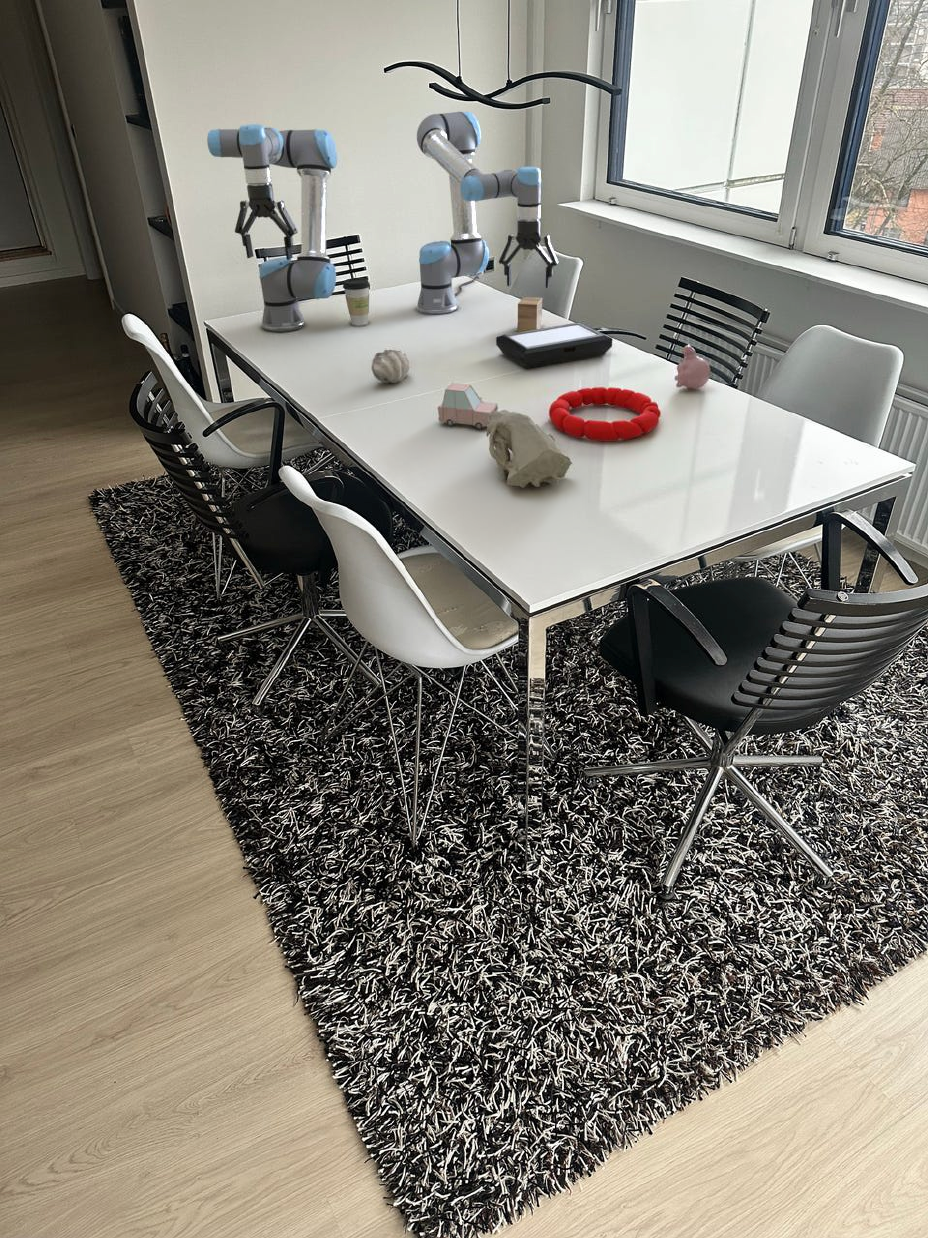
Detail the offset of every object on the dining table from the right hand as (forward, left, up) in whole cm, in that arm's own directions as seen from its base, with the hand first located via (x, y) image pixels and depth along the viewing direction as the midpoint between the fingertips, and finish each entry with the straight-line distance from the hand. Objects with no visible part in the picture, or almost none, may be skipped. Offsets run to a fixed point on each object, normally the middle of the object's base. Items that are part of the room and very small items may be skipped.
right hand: (528, 285), depth 306 cm
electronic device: (+26, +12, -15) cm, 32 cm away
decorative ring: (+81, +32, -15) cm, 88 cm away
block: (-1, +1, -15) cm, 15 cm away
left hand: (+38, -77, +16) cm, 87 cm away
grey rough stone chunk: (+114, +14, -15) cm, 116 cm away
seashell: (+57, -34, -15) cm, 68 cm away
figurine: (+53, +55, -15) cm, 78 cm away
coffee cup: (-2, -62, -15) cm, 64 cm away
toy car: (+87, -5, -15) cm, 88 cm away
